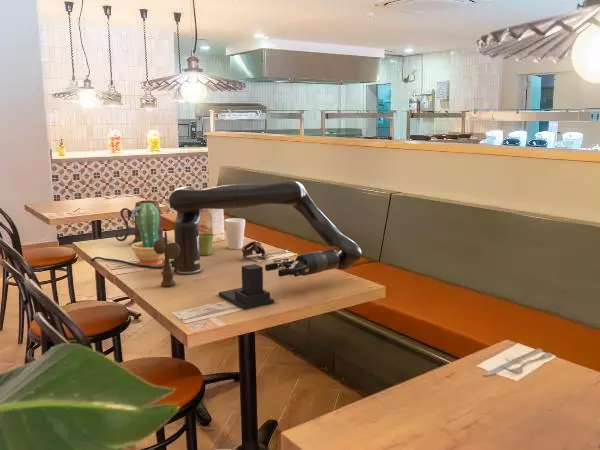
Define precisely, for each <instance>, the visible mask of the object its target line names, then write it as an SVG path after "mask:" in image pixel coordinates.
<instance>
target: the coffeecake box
mask: <svg viewBox="0 0 600 450" xmlns="http://www.w3.org/2000/svg"><path fill="white" fill-rule="evenodd" d="M224 220H225V215H224V209H200V221H199V233H212V234H214V236H213V240H212V243H215V242H221V241H225V239H226V238H225V226H224Z"/></svg>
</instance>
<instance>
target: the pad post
mask: <svg viewBox="0 0 600 450" xmlns="http://www.w3.org/2000/svg"><path fill="white" fill-rule="evenodd" d="M263 269H264V268H263V266H261V265H259V264H256V263H253V264H247V265H241V288H242V293H243V294H245V295H247V296H252V295H256V294H261V293H263V290H264V271H263Z"/></svg>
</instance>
